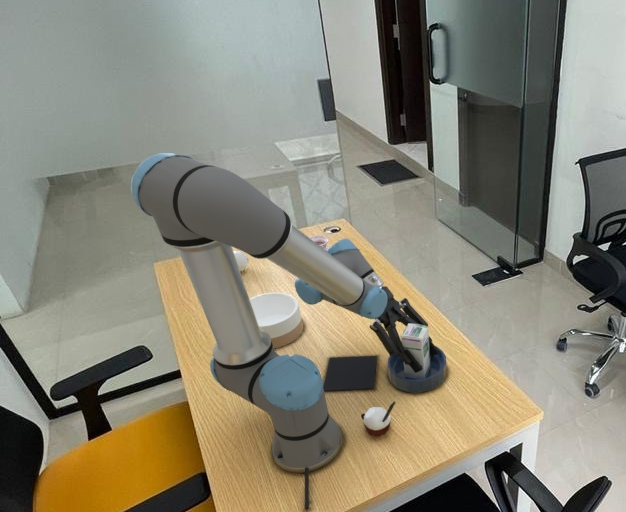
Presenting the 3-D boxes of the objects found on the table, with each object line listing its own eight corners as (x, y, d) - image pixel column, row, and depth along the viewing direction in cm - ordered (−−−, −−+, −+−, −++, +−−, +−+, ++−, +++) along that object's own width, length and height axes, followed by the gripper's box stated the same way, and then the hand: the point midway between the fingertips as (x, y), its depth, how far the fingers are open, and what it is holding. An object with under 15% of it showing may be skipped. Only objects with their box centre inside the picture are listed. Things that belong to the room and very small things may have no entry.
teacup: (342, 255, 186) (340, 240, 183) (313, 266, 179) (310, 251, 175) (324, 244, 193) (322, 230, 189) (296, 254, 186) (293, 240, 182)
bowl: (263, 310, 156) (256, 288, 152) (313, 318, 154) (309, 296, 149) (230, 344, 143) (222, 321, 138) (285, 354, 140) (278, 330, 135)
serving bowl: (447, 392, 130) (447, 379, 127) (387, 394, 128) (385, 382, 126) (445, 353, 143) (445, 341, 140) (390, 355, 141) (389, 343, 138)
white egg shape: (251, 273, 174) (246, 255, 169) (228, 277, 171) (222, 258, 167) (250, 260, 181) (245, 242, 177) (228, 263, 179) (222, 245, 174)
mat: (373, 389, 130) (373, 388, 130) (322, 391, 129) (322, 390, 129) (377, 356, 140) (376, 355, 140) (330, 358, 139) (329, 357, 139)
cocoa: (358, 426, 120) (352, 390, 113) (380, 413, 123) (376, 378, 116) (378, 451, 114) (373, 415, 107) (401, 437, 117) (398, 402, 110)
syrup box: (425, 381, 133) (423, 338, 124) (403, 377, 134) (400, 335, 125) (431, 367, 137) (429, 325, 129) (410, 363, 138) (407, 322, 130)
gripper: (354, 306, 118) (413, 381, 121) (404, 270, 132) (456, 337, 136) (340, 317, 123) (397, 388, 126) (390, 281, 137) (440, 346, 141)
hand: (427, 362), depth 131 cm, fingers closed on syrup box, 7 cm apart
